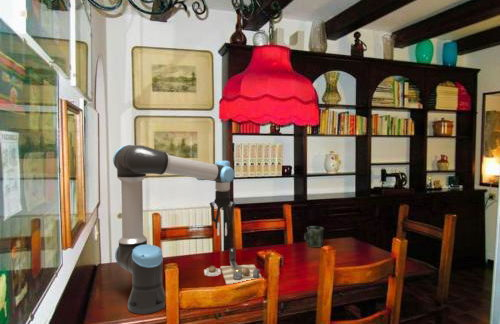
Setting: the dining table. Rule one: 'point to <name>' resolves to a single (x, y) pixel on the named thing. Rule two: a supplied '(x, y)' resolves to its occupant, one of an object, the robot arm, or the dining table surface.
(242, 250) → the dining table surface
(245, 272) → the walnut
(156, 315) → the dining table surface
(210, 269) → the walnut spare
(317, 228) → the mug
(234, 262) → the lever
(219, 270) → the dish
